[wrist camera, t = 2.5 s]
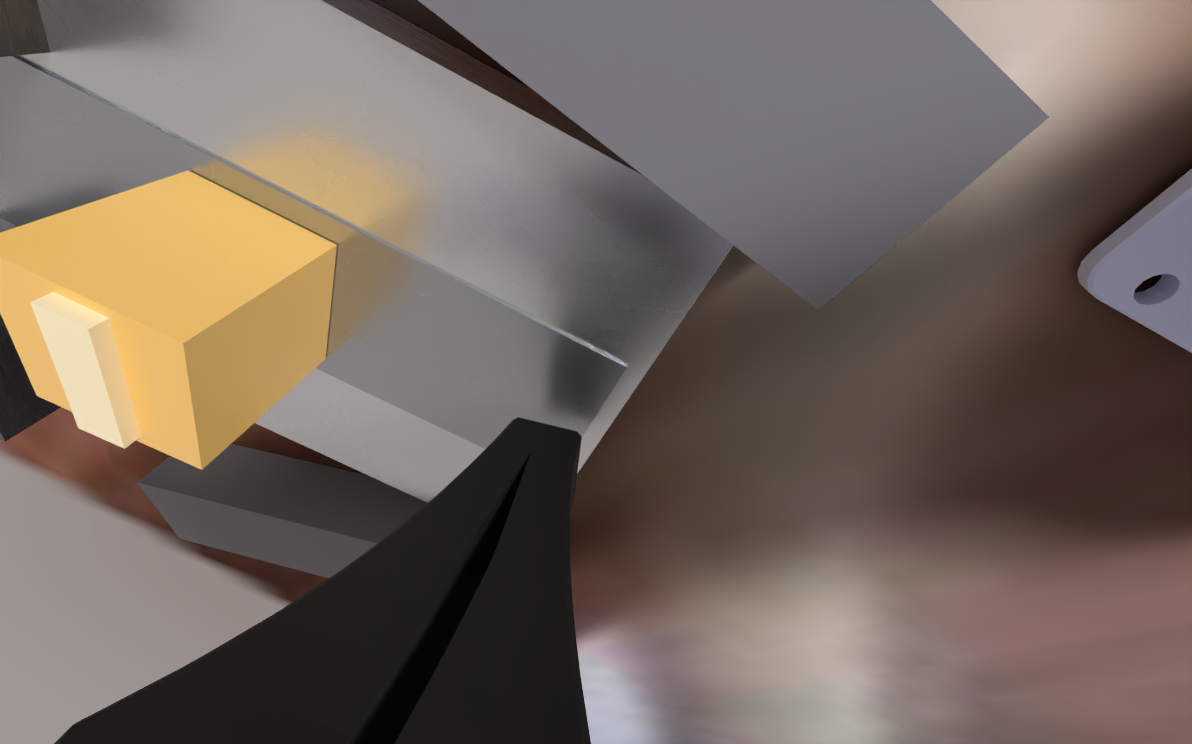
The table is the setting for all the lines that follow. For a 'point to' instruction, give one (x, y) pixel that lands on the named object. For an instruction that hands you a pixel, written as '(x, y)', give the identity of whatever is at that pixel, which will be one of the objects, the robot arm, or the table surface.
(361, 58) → the panel
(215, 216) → the orange l block
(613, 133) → the duct
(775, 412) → the table surface
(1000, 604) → the table surface
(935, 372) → the table surface
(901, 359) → the table surface
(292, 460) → the duct
